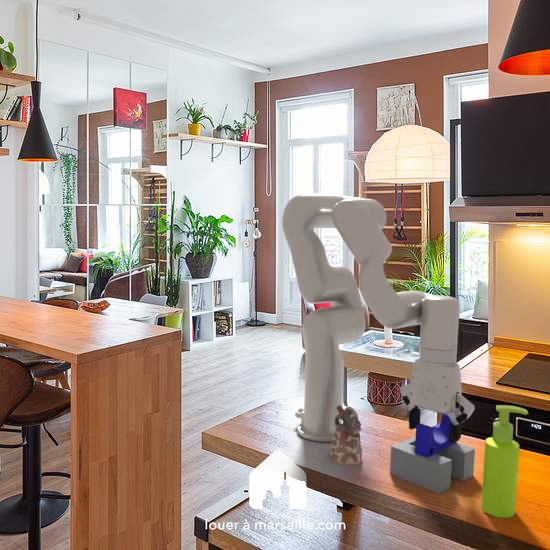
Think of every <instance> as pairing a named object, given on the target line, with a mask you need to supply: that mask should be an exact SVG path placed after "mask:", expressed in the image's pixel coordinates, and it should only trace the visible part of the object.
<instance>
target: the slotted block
mask: <svg viewBox="0 0 550 550" xmlns="http://www.w3.org/2000/svg"><path fill="white" fill-rule="evenodd" d="M415 439H416V435H414V436H413V437H410V438H409V439H408V438H407V439H406V440H402V441H400V442H398V443H396V444H393V445H391V446H390V462H389V463H390V464H389V465H390V466H389V474H390V475H393V476H395V477H398V478H399V479H402V480H405V481H407V482H409V483H412V484H414V485H416V486H419V487H421V488H424V489H426V490H428V491H431V492H433V493H435V494H438V495H441V494H442V493H444V492H446V491H447V490H450V489H451V483H452V479H451V478H454V479H457V480H459V481H462V482H465V481H466V480H468V479H470V478H472V477H474V470H475V456H476V455H475V454H476V448H473V447H472V446H468V445H466V444H463V443H460V442H457V443H455V444H453V445H451V446H449V447H447V448H445V449H443V450H442V451H440V452H438V453H436V454H434V455H432V456H430V457H428V458H427V457H424V456H421V455H418V454H416V453H415Z"/></svg>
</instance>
